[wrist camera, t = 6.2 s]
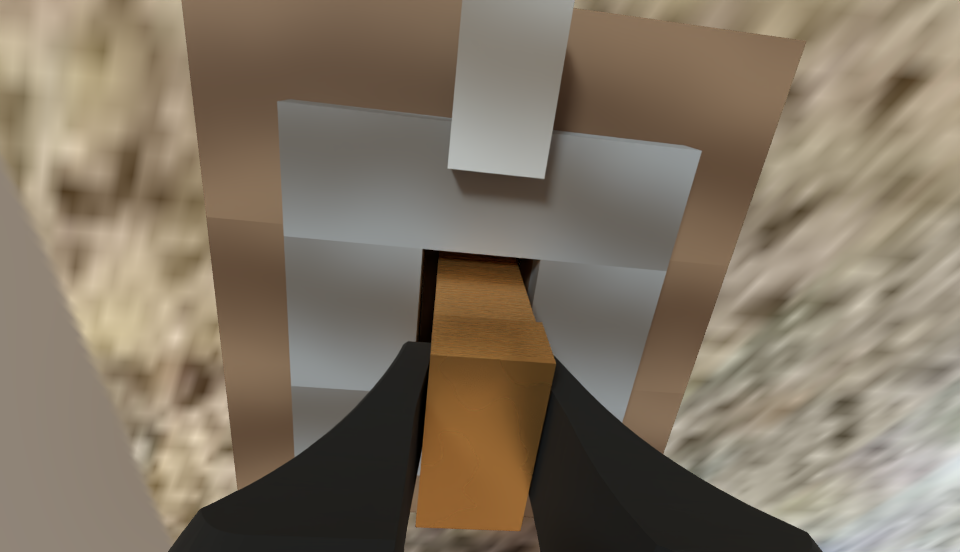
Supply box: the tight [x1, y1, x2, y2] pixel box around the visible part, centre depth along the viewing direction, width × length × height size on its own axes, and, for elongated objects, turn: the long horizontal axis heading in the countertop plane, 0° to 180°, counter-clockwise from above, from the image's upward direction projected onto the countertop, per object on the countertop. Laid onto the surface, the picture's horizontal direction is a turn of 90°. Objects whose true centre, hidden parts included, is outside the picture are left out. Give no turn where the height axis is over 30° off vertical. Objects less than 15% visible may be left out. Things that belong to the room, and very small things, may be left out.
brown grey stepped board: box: [182, 0, 806, 517], centre depth 15 cm, size 18×16×4 cm
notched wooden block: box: [415, 250, 556, 531], centre depth 13 cm, size 5×2×8 cm, turn 173°
